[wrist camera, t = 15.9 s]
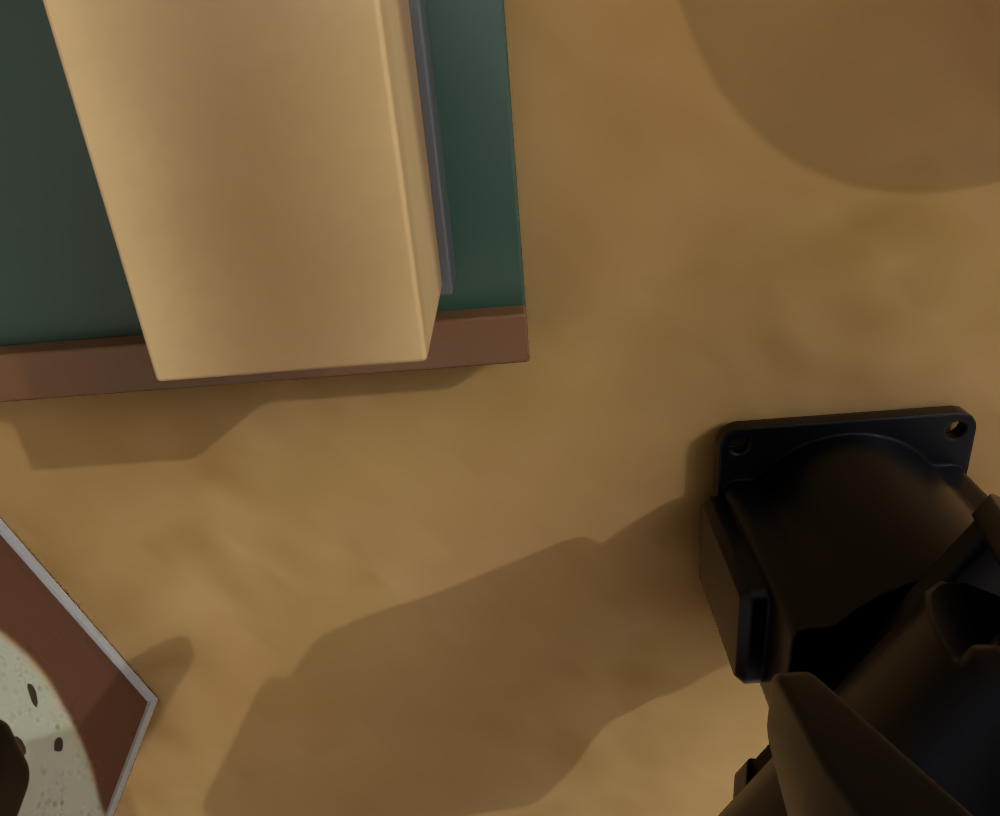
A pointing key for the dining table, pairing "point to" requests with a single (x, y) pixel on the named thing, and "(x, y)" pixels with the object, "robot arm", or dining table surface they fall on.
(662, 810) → the dining table surface
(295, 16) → the eraser
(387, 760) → the dining table surface
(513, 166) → the slate board
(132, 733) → the food container
